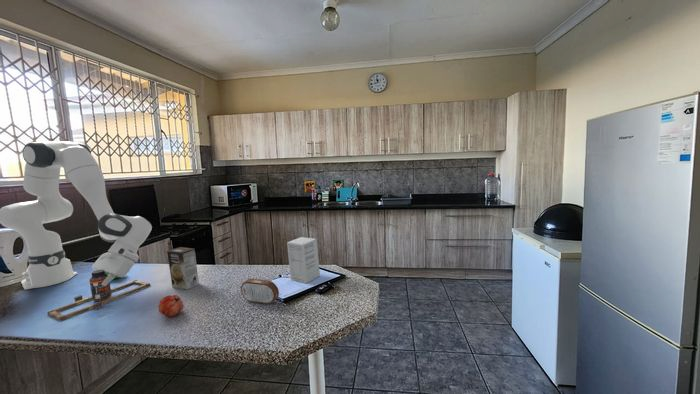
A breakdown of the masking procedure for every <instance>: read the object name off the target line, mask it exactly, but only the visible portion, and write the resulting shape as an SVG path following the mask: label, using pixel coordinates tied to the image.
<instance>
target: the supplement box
mask: <svg viewBox="0 0 700 394" xmlns="http://www.w3.org/2000/svg"><path fill="white" fill-rule="evenodd" d="M286 245H287V256H288V265H289V275H290V276H289V277H290V281H294V282H300V283H304V284H308V283H309V282H311V281H313V280H314V279H317V278H318V277H320V276H321V273H320V261H319V250H318V240H317V238H311V237H303V236H300V237H297V238H296V239H292V240H290V241H287V243H286Z"/></svg>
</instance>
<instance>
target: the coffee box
mask: <svg viewBox="0 0 700 394" xmlns="http://www.w3.org/2000/svg"><path fill="white" fill-rule="evenodd" d="M166 253H167V259H168V266H169V273H170V279H171V286H172V288H175V289H183V290H190V289H191V288H193V287H196V286H197V285H199V284H200V283H199V282H200V281H199V275H198V266H197V265H198V264H197V259H196V258H197V257H196V251H195V248H193V247H191V248H190V247H183V246H180V247H176V248H173V249H170V250H167V252H166Z"/></svg>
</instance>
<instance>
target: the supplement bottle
mask: <svg viewBox="0 0 700 394" xmlns="http://www.w3.org/2000/svg"><path fill="white" fill-rule="evenodd" d="M107 277H108V275H107V274H105V272H104V270H93V271H91V277H90V278H89V286H90V292H91V296H92V298H93V300H92V301H94V302H100V301H103V300H105V299H108V298H110V297H112V292H111V289H112V288H111V283H110V282H111V281H110V282H109V283H108V284H107V286H103V285H101V284H100V283H101V282H102V280H105V279H106V278H107Z"/></svg>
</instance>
